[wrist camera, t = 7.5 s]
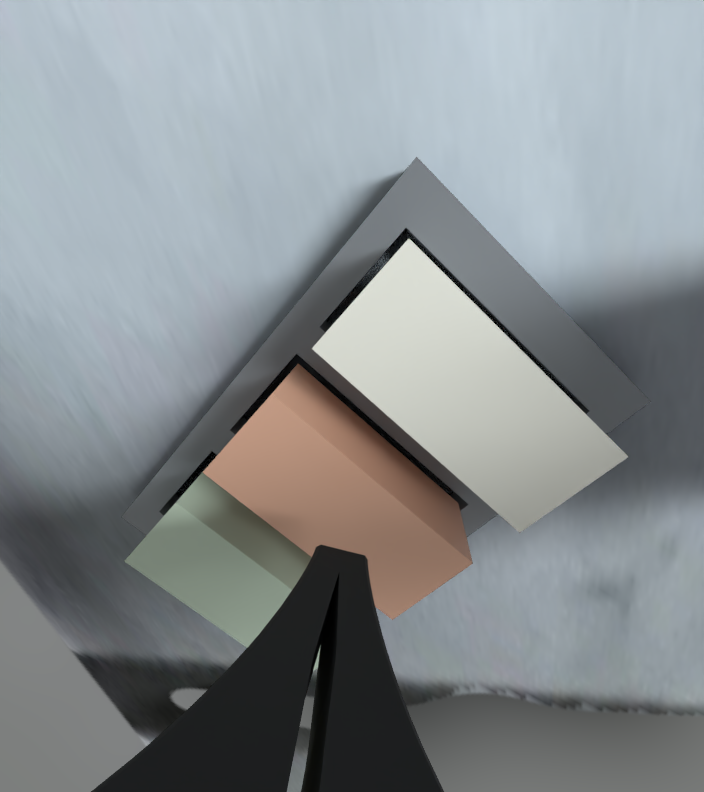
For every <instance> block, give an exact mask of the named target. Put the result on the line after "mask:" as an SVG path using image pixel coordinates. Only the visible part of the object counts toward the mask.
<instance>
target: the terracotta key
mask: <svg viewBox="0 0 704 792" xmlns="http://www.w3.org/2000/svg"><path fill="white" fill-rule="evenodd" d="M203 473H204V474H205V475H206V476H208V477H209V478H210V479H212V480H213V481H214V482H215V483H217V484H218V485H219V486H221V487H222V488H223V489H224V490H226V491H227V492H228V493H230V494H231V495H232V496H233V497H235V498H236V499H237V500H239V501H240V502H241V503H242V504H244V505H245V506H246V507H248V508H249V509H250V510H252V511H253V512H254V513H255V514H257V515H258V516H259V517H261V518H262V519H263V520H264V521H266V522H267V523H268V524H270V525H271V526H272V527H273V528H275V529H276V530H277V531H279V532H280V533H281V534H282V535H284V536H285V537H286V538H288V539H289V540H290V541H291V542H293V543H294V544H295V545H297V546H298V547H299V548H301V549H302V550H303V551H304V552H306V553H307V554H308V555H310V556H311V557H312V556H313V553H314V551H315V548H316V547H317V546H319V545H325V546H329V547H333V548H337V549H341V550H345V551H349V552H353V553H357V554H361V555H365V556H366V558H367V559H368V570H369V577H370V584H371V589H372V594H373V599H374V604H375V607H377V608H378V609H379V610H380V611H382V612H383V613H384V614H386V615H387V616H388V617H389V618H391V619H392V620H393V619H394V618H396V617H397V616H399V615H400V614H401V613H403V612H404V611H406V610H407V609H408V608H410V607H411V606H413V605H414V604H416V603H417V602H418V601H420V600H421V599H423V598H424V597H426V596H427V595H428V594H430V593H431V592H433V591H434V590H436V589H437V588H438V587H440V586H441V585H443V584H444V583H446V582H447V581H448V580H450V579H451V578H453V577H454V576H455V575H457V574H458V573H460V572H461V571H463V570H464V569H465V568H467V567H468V566H470V565H471V564H473V562H472V558H471V554H470V550H469V546H468V542H467V537H466V533H465V529H464V525H463V521H462V517H461V512H460V508H459V504H458V502H457V501H455V500H454V499H453V498H452V497H451V496H450V495H449V494H447V493H446V492H445V491H444V490H443V489H442V488H441V487H439V486H438V485H437V484H436V483H435V482H434V481H433V480H431V479H430V478H429V477H428V476H427V475H426V474H425V473H423V472H422V471H421V470H420V469H419V468H418V467H416V466H415V465H414V464H413V463H412V462H411V461H410V460H408V459H407V458H406V457H405V456H404V455H403V454H402V453H400V452H399V451H398V450H397V449H396V448H395V447H394V446H392V445H391V444H390V443H389V442H388V441H387V440H386V439H384V438H383V437H382V436H381V435H380V434H379V433H377V432H376V431H375V430H374V429H373V428H372V427H371V426H369V425H368V424H367V423H366V422H365V421H364V420H363V419H361V418H360V417H359V416H358V415H357V414H356V413H355V412H353V411H352V410H351V409H350V408H349V407H348V406H347V405H345V404H344V403H343V402H342V401H341V400H340V399H338V398H337V397H336V396H335V395H334V394H333V393H332V392H330V391H329V390H328V389H327V388H326V387H325V386H324V385H322V384H321V383H320V382H319V381H318V380H317V379H316V378H314V377H313V376H312V375H311V374H310V373H309V372H308V371H306V370H305V369H304V368H303V367H302V366H301V365H299V364H297V365H296V366H295V368H294V369H293V370H292V371H291V372H290V373H289V374H288V375H287V377H286V378H285V379H284V380H283V381H282V382H281V383H280V385H279V386H278V387H277V388H276V389H275V390H274V391H273V393H272V394H271V395H270V396H269V397H268V398H267V399H266V400H265V402H264V403H263V404H262V405H261V406H260V407H259V408H258V410H257V411H256V412H255V413H254V414H253V415H252V416H251V417H250V419H249V420H248V421H247V422H246V423H245V424H244V425H243V427H242V428H241V429H240V430H239V431H238V432H237V433H236V435H235V436H234V437H233V438H232V439H231V440H230V441H229V443H228V444H227V445H226V446H225V447H224V448H223V449H222V451H221V452H220V453H219V454H218V455H217V456H216V457H215V459H214V460H213V461H212V462H211V463H210V464H209V466H208V467H207V468H206V469H205V470H204V471H203Z"/></svg>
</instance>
